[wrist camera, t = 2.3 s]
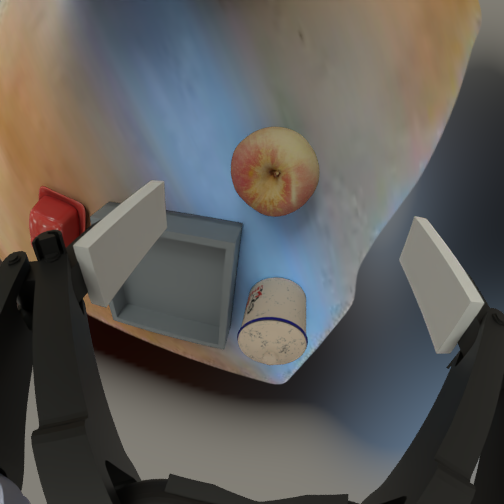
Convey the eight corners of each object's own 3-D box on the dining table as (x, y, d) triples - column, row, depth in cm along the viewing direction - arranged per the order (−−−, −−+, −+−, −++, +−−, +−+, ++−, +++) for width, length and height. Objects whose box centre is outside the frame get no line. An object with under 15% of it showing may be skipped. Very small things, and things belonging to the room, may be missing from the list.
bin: (125, 301, 48) (113, 319, 44) (109, 201, 37) (89, 217, 33) (230, 327, 47) (224, 349, 43) (242, 223, 36) (235, 243, 32)
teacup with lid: (251, 269, 40) (236, 331, 30) (314, 281, 40) (316, 345, 30) (242, 325, 47) (228, 383, 37) (295, 334, 46) (291, 394, 37)
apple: (282, 208, 35) (277, 241, 28) (224, 162, 32) (204, 185, 26) (331, 158, 30) (342, 180, 24) (271, 106, 28) (264, 112, 21)
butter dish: (90, 202, 38) (56, 228, 31) (88, 257, 45) (62, 287, 37) (43, 181, 37) (9, 202, 30) (45, 234, 44) (17, 259, 36)
